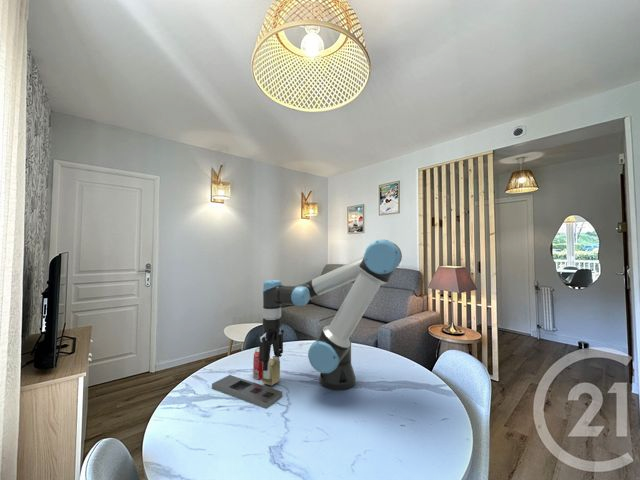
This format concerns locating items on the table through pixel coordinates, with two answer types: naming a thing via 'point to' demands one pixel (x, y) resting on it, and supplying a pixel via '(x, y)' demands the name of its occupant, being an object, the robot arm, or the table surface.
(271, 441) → the table surface
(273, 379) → the wooden block
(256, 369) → the soda can
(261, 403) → the grey slotted board
